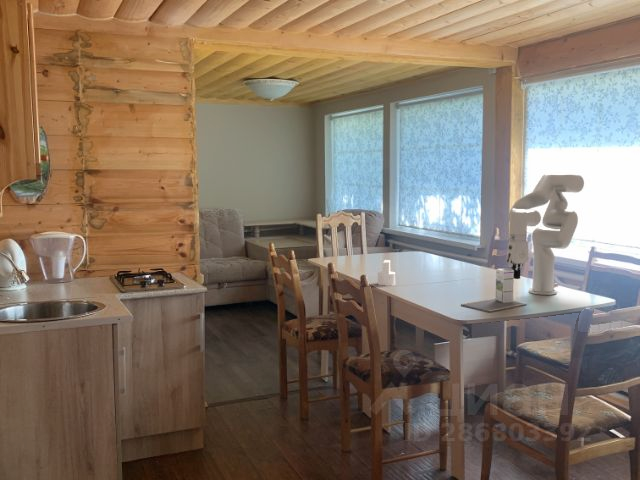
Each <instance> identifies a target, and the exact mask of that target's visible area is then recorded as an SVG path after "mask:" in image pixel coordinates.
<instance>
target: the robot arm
mask: <svg viewBox="0 0 640 480" xmlns="http://www.w3.org/2000/svg"><path fill="white" fill-rule="evenodd" d="M584 185H585V180H584V178H583V177H582V175H581V174H577V173H576V174H575V173H574V174H573V173H569V172H546V173H545V174H543V175H542V176H541V178H540V179H539V181H538V183H537V184H536V185H535V188H534V189H533V191H531V192H530V193H527V194H526V195H524V196H522V197H520V198H519V199H518V200H517V201H515V202H514V203H513V205H512V207H511V208H510V210H509V212H508V216H507V218H508V222H509V228H508V232H509V233H508V243H507V247H506V250H507V251H506V262H507V266H508V267H510V268H511V270H514V279H515V280H521V271H522V268H523V266H525V265H526V263H528V262H529V244H528V241H527V234H528V233H527V232H528V231H527V230H528V227H536V226H537V225H539V224H540V223H542V225H543V226H542V227H541V226H540V227H537V228H535V229H534V230H532V231H533V232H532V233H531V241H532V247H533V249H532V250H533V257H532V259H533V261H532V287H531V288H529V289H528V293H531V294H534V295H538V296H539V295H540V296H551V295H556V294H557V290H555V288H558V287H559V283H557V282H555V281H554V278H555V277H554V275H555V254H554V252H553V250H552V249H561V250H564V249H567V248H568V247H569V245H570V244H571V241H572V239H573V236H574V234H575V231H576V229H577V226H578V222H579V217H578V214H577V212H576V211H575V210H571V209H567V208H568V205H569V204H568V201H567V198H566V196H564V194H563V193H579V192H581V191H582V190H583V189H584V187H585V186H584ZM547 203H548V205H547V207H546V210H545V212H544V214H543V217H542V215H541V213H540V212H539V211H538V210H536V209H534V208H537V207H541V206H544V205H546V204H547ZM541 221H542V222H541Z"/></svg>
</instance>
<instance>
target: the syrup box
mask: <svg viewBox="0 0 640 480" xmlns="http://www.w3.org/2000/svg"><path fill="white" fill-rule="evenodd" d="M514 281H515V280H514V270H512V269H510V268H504V267H503V268H497V269H495V298H496V301H499V302H502V303H509V302H513V301H514Z"/></svg>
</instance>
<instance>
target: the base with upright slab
mask: <svg viewBox="0 0 640 480" xmlns="http://www.w3.org/2000/svg"><path fill="white" fill-rule="evenodd" d="M377 284H379V286H382V285H385V286H384V287H390V285H393V286H396V272H394V271H391V259H384V260H383V262H382V271H378V272H377Z"/></svg>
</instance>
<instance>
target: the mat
mask: <svg viewBox="0 0 640 480" xmlns="http://www.w3.org/2000/svg"><path fill="white" fill-rule="evenodd" d="M460 306H461V307H465V308H469V309H474V310H477V311H481V312H487V313H494V312H499V311H500V312H501V311H503V310H510V309H515V308H519V307H524V306H527V303H524V302H519V301H514V300H513V302H509V303H502V302H499V301H496V297H492V298H488V299H482V300H477V301H469V302H466V303H465V302H464V303H460Z"/></svg>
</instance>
